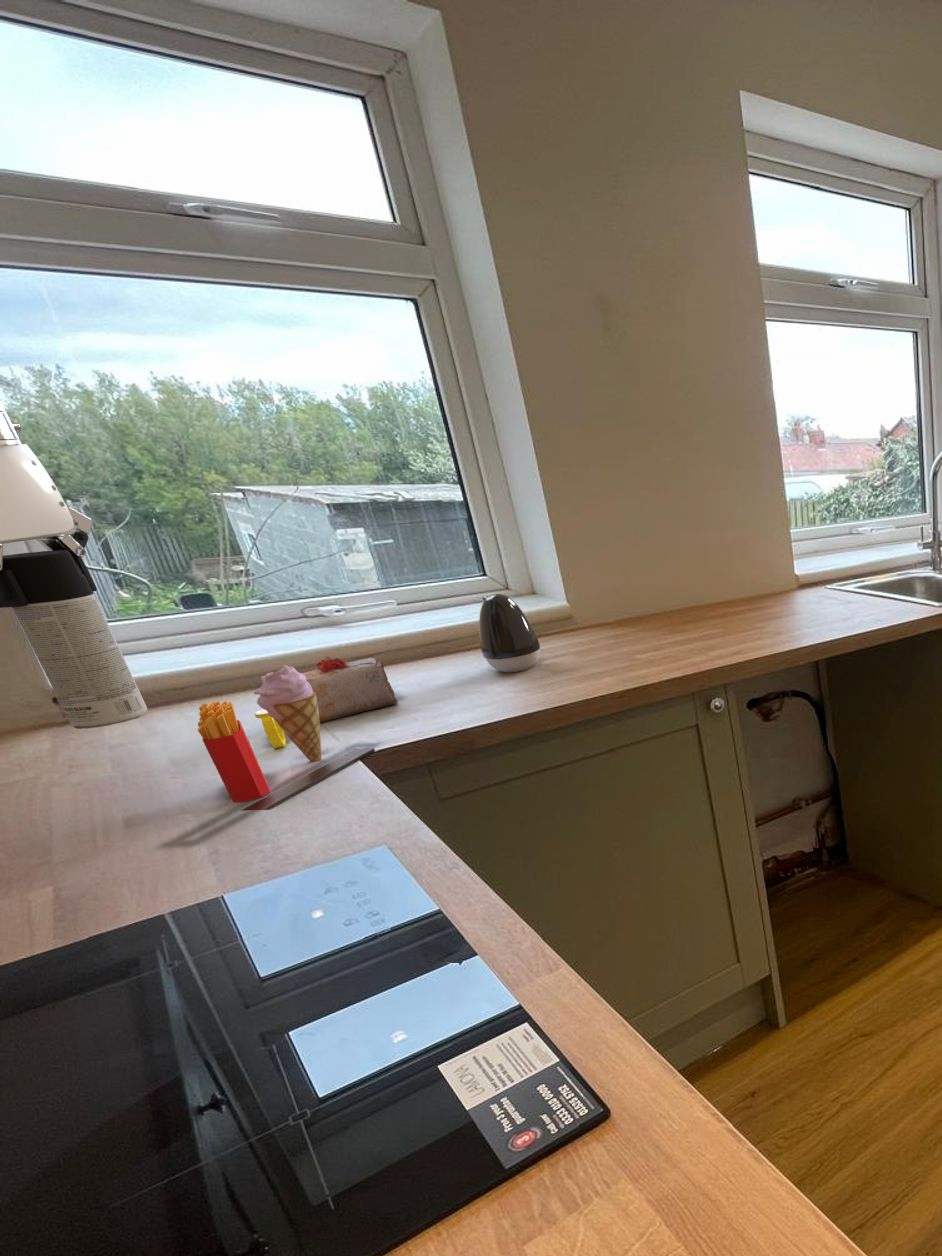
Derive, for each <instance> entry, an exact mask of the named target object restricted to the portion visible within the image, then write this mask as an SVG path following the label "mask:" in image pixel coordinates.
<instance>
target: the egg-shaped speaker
mask: <svg viewBox="0 0 942 1256" xmlns="http://www.w3.org/2000/svg"><path fill="white" fill-rule="evenodd" d="M482 601H483V602H482V604H481V607H480V610H479V619H478V620H479V621H478V622H479V623H478V628H479V630H478V634H479V644H480V651H481V655H482V657H483V658H484V659H485V660H486V662H487V663H488V664H489V665H490V667H492V668H493V669H494V670H497V671H499V672H502V673H517V672H523V671H525V670H528V669H531V668H532V667H533V666H534V665H535V664H536V663H537V662H538V660H539V658H540V649H541V644H540V641H539V639H538V636H537V634H536V632H535V630H534V628H533V626H532V624H531V622H530V621H529V619H528V618H527V616H526V615H525V613H524V611H523V610H522V608H521V607H520V606H519V604H517V603H516V602H515V601H514V600H513V599H512V598H511V597H509V596H508V595H506V594H502V593H494V594H490V595H489V596H488V595H483V596H482Z"/></svg>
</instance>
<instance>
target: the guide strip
mask: <svg viewBox="0 0 942 1256" xmlns="http://www.w3.org/2000/svg"><path fill="white" fill-rule="evenodd" d="M374 752H376V750H375V747H374V748H373V747H371V748H368V747H367V748H353V749H352V750H351V751H349V752H346V753H344V754H342V755H341V756H339V757H337V758H336V759H334V760H331V761H330V762H328V763H326V764H325V765H323V766H320V767H319V768H317V769H315V770H313V771H311V772H310V773H308V774H306V775H303V776H301V777H300V778H298V779H296V780H294V781H293V782H290V783H289V784H287V785H285V786H283V787H281V788H279V789H278V790H276V791H273V792H272V793H270V794H267V795H266V796H264V797H262V798H261V799H259V800H257V801H255V802H254V803H252V804H250V805H248V806H246V807H244V808H242V809H240V812H245V811H246V812H247V811H248V812H249V811H269V810H272V809H273V808H275V807H277V806H279V805H281V804H283V803H284V802H286V801H288V800H290V799H291V798H293V797H295V796H297V795H298V794H300V793H302V792H304V791H305V790H307V789H309V788H311V787H313V786H315V785H316V784H319V783H320V782H323V781H324V780H325V779H327V778H330V777H331V776H333V775H334V774H336V773H338V772H340V771H342V770H344V769H345V768H347V767H350V766H351V765H353V764H354V763H356V762H358V761H359V760H361V759H364V758H365V757H367V756H369V755H370V754H372V753H374Z"/></svg>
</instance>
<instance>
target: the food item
mask: <svg viewBox="0 0 942 1256" xmlns="http://www.w3.org/2000/svg"><path fill="white" fill-rule="evenodd" d="M315 666H316V669H313V670H308V671H305V672H300V673H301V674H303V675H304V676H305V677H306V681H307V682H308V683H309V684H310V685H311V687H312V690H313V692H316V699H317V705H318V711H319V721H320V724H321V723H324V722H328V721H332V720H336V719H339V718H343V717H347V716H352V715H355V714H359V713H363V712H367V711H373V710H377V709H380V708H385V707H388V706H392V705H395V704H398V703H399V702H398V699H397V698H396V696H395V691H394V688H393V687H392V685H391V683H390V682H389V680H388V676H387V673H386V671H385V669H384V664H383V663H382V662H380V661H379V659H377V658H374V657H368V658H363V659H359V660H358V659H357V660H354V661H348V662H345V661H344V660H343V659H341V658H338V657H335V659H334V658H331V657H330V656H326V657H325V658H324V659H321V661H319V662H316V664H315Z"/></svg>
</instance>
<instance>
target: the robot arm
mask: <svg viewBox="0 0 942 1256" xmlns="http://www.w3.org/2000/svg"><path fill="white" fill-rule="evenodd" d="M2 403H3V402H2V401H1V400H0V609H2V608H3V609H5V608H12V607H23V606H27V605H28V603H29V602H28V600H27V598H26V596H25V594H24V593H23V591H22V589H21V587H20V585H19V583H18V581H17V579H16V577H15V576H14V574H13V572H12V571H11V570H3V569H2V567H3V556H4V555H3V554H4V551H3V549H4V548H3V547H4V545H3V544H11V543H18V542H25V541H32V540H36V541H37V542H38V543H39V544H40V545H42V546H43V547H44V548H45V549H46V551H59V550H67V551H69V552H70V553H71V555H72V557H73V559H74V561H75V562H76V564H77V566H78V567H79V569H80V570H81V572H82V574H83V575H84V576H85V577H86V578H87V581H88V583H89V585H90V587H91V589H92V591H93V592H96V591H97V590H98V588H97V586H96V583H95V582H94V579H93V577H92V575H91V573H90V572H89V569H88V567H87V565H86V564H85V561H84V559H83V558H84V557H85V556H86V555H87V550H86V549H85V548H86V546H87V543H88V541H89V539H90V538H89V535H90V533H91V529H92V526H93V524H94V522H93V520H92V519H91V518H90V516H89V517H88V516H87V515H85V514H83V513H82V512H80V511H78V510H76V509H74V508H73V507H70V506H68V505H67V504H66V502H65V500H64V498H63V496H62V494H61V492H60V491H59V489H58V487H57V486H56V484H55V482H54V480H53V479H52V477H51V476H50V475H49V472H47V470H46V469H45V467H44V466H43V464H42V463H41V461H40V460H39V459H38V457H37V455H36V454H35V453H34V452H33V450H32V449H31V448H30V447H29V446H28V444H27V443H22V441H21V440H20V438H19V435H18V433H20V432H21V431H22V426H21V425H20V423H19V422H18V421H17V420H13V419H10V418H9V416H8V414H7V412H6V409H5V408H4V405H3V404H2Z"/></svg>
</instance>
